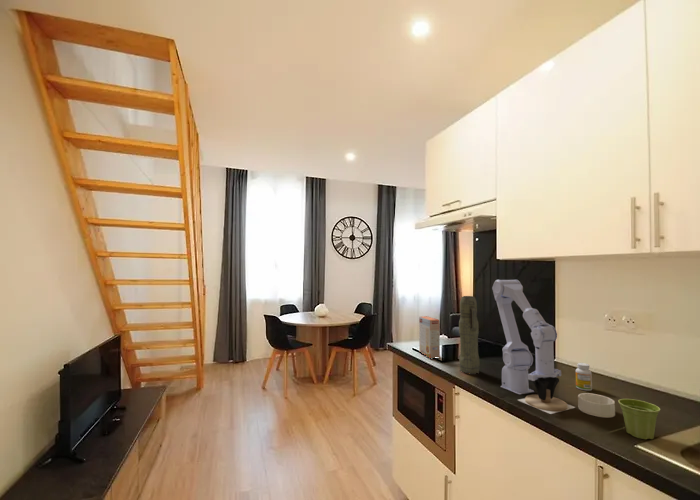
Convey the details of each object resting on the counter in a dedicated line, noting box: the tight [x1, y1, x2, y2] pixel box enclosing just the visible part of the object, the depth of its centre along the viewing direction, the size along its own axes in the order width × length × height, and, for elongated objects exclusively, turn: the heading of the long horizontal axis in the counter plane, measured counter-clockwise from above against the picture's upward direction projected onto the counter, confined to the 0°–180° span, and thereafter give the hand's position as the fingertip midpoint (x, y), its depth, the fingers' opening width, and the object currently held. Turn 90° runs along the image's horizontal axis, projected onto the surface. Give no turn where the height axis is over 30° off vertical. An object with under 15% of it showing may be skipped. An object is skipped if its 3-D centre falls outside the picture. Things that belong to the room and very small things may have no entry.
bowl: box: [577, 392, 616, 419], centre depth 116 cm, size 10×10×4 cm
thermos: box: [458, 295, 480, 375], centre depth 161 cm, size 9×12×35 cm
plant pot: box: [617, 398, 661, 440], centre depth 100 cm, size 9×9×9 cm
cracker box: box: [418, 315, 441, 359], centre depth 189 cm, size 14×6×21 cm, turn 12°
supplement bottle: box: [575, 362, 593, 392], centre depth 138 cm, size 5×5×10 cm
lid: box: [524, 389, 568, 412], centre depth 122 cm, size 13×13×5 cm
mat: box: [517, 397, 577, 415], centre depth 122 cm, size 13×13×1 cm
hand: (545, 398), depth 122 cm, fingers closed on lid, 3 cm apart
